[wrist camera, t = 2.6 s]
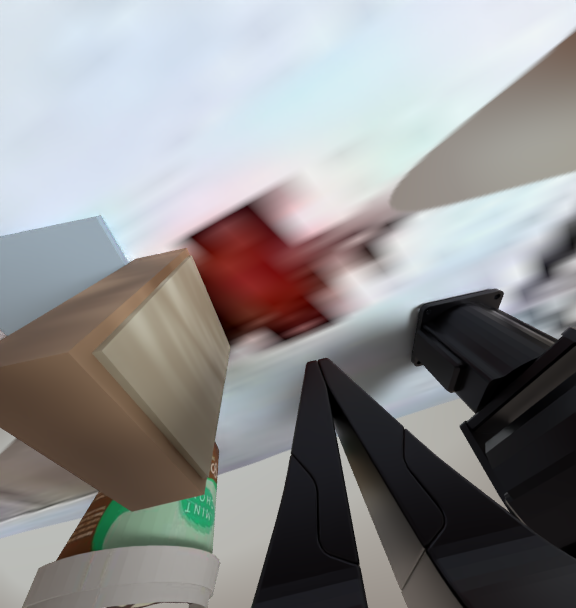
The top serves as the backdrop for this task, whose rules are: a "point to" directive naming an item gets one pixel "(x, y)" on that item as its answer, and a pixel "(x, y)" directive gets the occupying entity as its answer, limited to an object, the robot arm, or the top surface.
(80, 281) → the board
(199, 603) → the food container
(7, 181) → the top surface
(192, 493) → the wooden block
